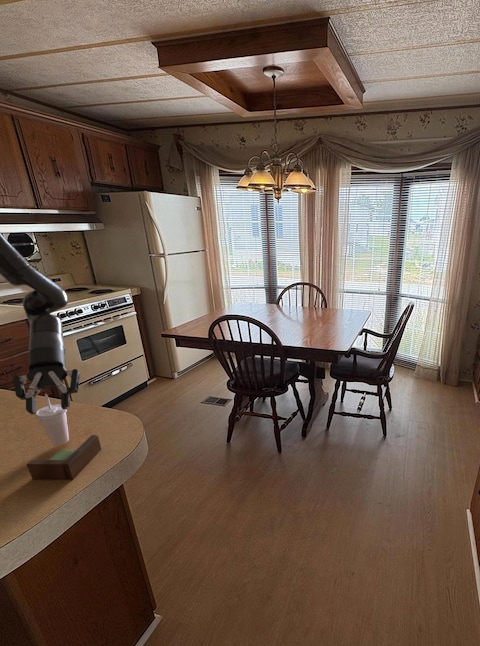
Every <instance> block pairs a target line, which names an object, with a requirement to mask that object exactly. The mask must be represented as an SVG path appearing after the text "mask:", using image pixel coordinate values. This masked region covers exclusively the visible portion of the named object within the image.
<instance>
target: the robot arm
mask: <svg viewBox="0 0 480 646" xmlns="http://www.w3.org/2000/svg"><path fill="white" fill-rule="evenodd" d="M0 276H1V277H2V278H3V279H4V280H5V281H6V282H7V283H8V284H9V285H11V286H14V287H20V286H21V287H22V286H27V287H29V288H30V289H32V291H29V292H28V293H26V294H25V295H24V297H23V300H22V307H23V310H24V313H25V315H26V318H27V320H28V322H29V341H28V371H27V373H26V374H24V375H20V376H19V375H17V374H16V375H13V376H12V382H13V387H14V392H15V393H14V394H15V396H16V397H17V398H18V399H20V400H21V401H25V410H26V412H28V413H29V414H30V415H36V412H37V404H36V403H37V401H36V398H37V396H38V395H39V394H40V393H41V391H42V390H44V389H45V390H46V389H49V388H52V389H53V388H58V390H60V392H61V394H60V404H61V407H62V409H63V410H66V409H67V410H68V408H70V406H71V399H70V398H71V397H70V396H71V395H72V394H77V393H78V392H79V386H80V380H81V379H80V378H81V373H80V371H79V370H78V369H77V368H74V369H72V370H67V368H66V347H65V341H64V327H63V322H62V320H61V319H60V318H59V317H58V316H56V315H54V314H53V313H54V312H57V311H58V310H61V309H63V308H65V307H66V306H67V305H68V303H69V297H68V294H67V293H66V291H65V290H64V289H63V288H62V287H61V286H60V285H59V284H57V283H56V282H55V281H53V280H51V279H50V278H49V277H47V276H46V275H45V274H43V273H41V272H40V271H38V270H37V269H35V268H34V266H32V265H31V263H30V262H29V261H28V260H27V259H26V258H25V257H24V256H23V255H22V254H21V253H20V252H19V250H17V249H16V247H14V246H13V245H12V244H11V243H10V241H9V240H7V238H6V237H5V236H4V235H3V234H2V233H1V232H0ZM67 376H68V377H69V378H70V384H69V385H70V386H69V387H68V388H67V387H66V385H65V384H64V383H63V381H64V380H65V379H66V378H67ZM27 381H30V382H31V383H30V384H29V386H28V389H27V391H26V389H25V385H26V384H27Z"/></svg>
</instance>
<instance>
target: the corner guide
mask: <svg viewBox="0 0 480 646" xmlns="http://www.w3.org/2000/svg"><path fill="white" fill-rule="evenodd" d="M101 450H102V446H101V443H100V438H99V435H98V434H91V435H90V436H89V437H88V438H87V439H86V440H85V441H84V442H83V443H82V444H81V445H80V446H78V448H76V449H58V451H56V453H55V454H53V455H52V456H51V457H49V459H31V460H30V461H29V462H27V463H26V466H27V469H28V471H29V474H30V477H31V479H32V481H33V480H34V481H40V480H42V481H43V480H48V481H51V480H52V481H53V480H65V481H67V480H68V481H69V480H70V481H71V480H72V481H73V480H74V479H76V478H77V476H78V475H80V473H81V472H82V471H83V470H84V468H85V467H86V466H88V464H89V463H90V462H91V461H92V460H93V459H94V458H95V457H96V456H97V455H98V454H99V452H100V451H101Z"/></svg>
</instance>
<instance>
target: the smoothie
mask: <svg viewBox="0 0 480 646" xmlns="http://www.w3.org/2000/svg"><path fill="white" fill-rule="evenodd" d="M44 397H45V398H44V399H45V401H46V404H47V405H46V406H43V407H41V408H39V409H38V410H36V414H35V418H36V419H38V421H39V422H40V424H41V425H42V428H43V429H44V431H45V433H46V435H47V437H48V439H49V441H50V443H51V444H52V445H53V446H61V445H64V444H66V443H68V442H69V441H70V436H69V428H68V427H69V426H68V420H67V412H68V408H67V409H66V410H63V409H62V407H61V403H59V404H58V403H57V404H55V403H54V404H51V402H50V401H51V400H50V398H49V394H48V393H45V394H44Z"/></svg>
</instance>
